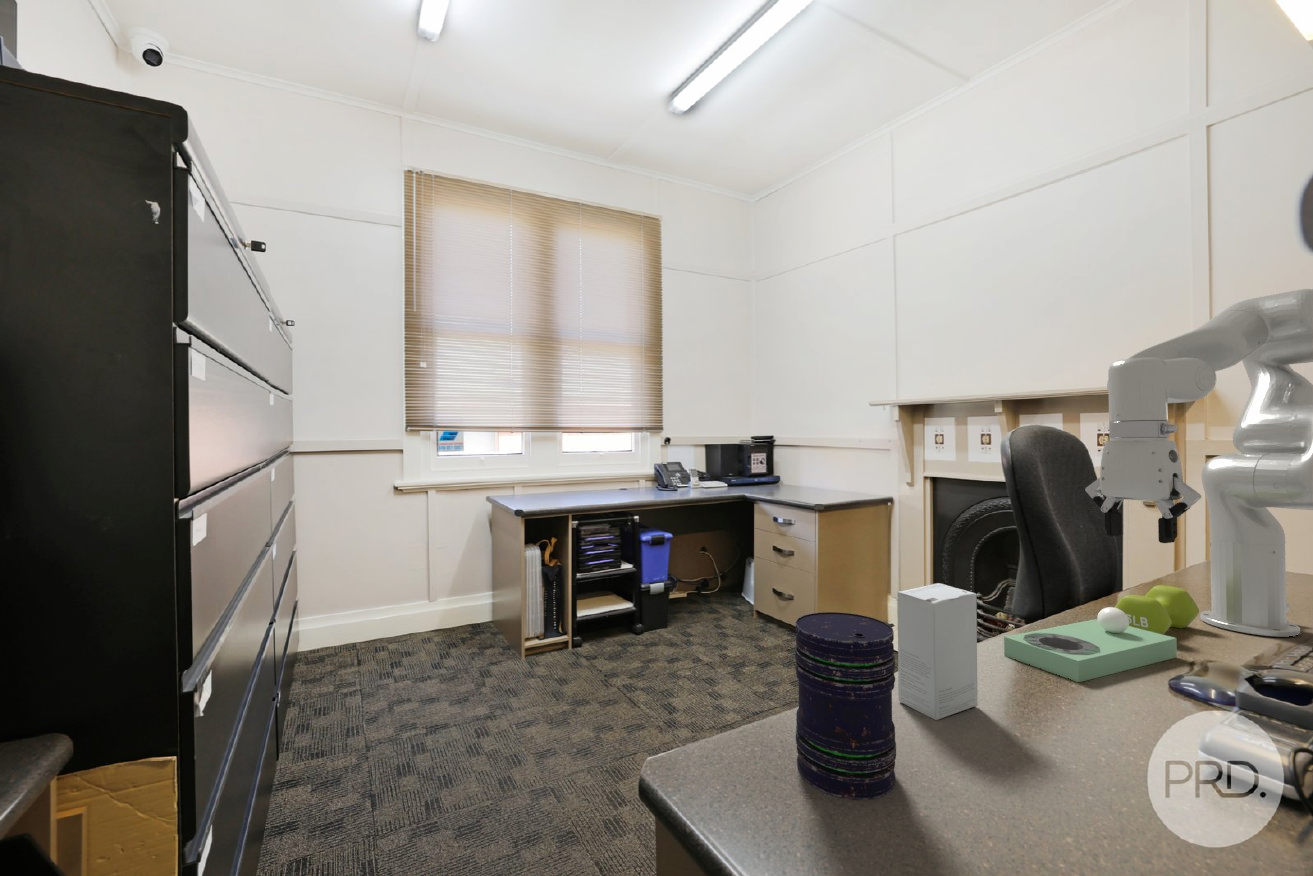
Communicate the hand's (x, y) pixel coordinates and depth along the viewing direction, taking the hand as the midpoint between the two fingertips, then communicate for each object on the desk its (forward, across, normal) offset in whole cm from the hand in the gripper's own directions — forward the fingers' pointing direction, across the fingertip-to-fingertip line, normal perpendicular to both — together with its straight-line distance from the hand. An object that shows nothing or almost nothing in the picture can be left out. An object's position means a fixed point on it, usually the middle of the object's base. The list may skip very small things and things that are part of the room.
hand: (1139, 538), depth 95 cm
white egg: (+13, 0, +8) cm, 15 cm away
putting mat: (+18, 0, +14) cm, 22 cm away
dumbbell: (+18, +3, -10) cm, 21 cm away
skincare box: (+18, -3, +50) cm, 53 cm away
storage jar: (+18, -10, +70) cm, 73 cm away
